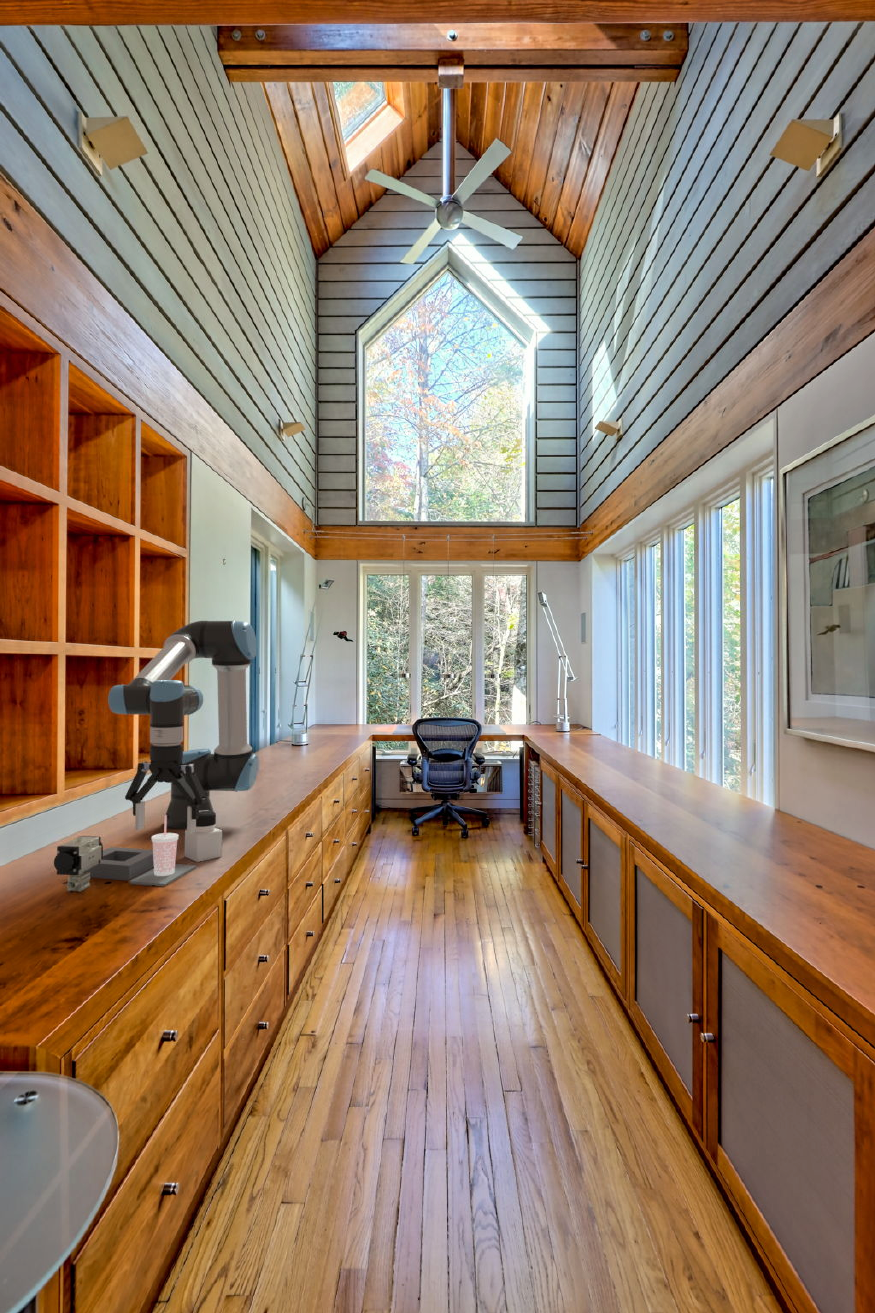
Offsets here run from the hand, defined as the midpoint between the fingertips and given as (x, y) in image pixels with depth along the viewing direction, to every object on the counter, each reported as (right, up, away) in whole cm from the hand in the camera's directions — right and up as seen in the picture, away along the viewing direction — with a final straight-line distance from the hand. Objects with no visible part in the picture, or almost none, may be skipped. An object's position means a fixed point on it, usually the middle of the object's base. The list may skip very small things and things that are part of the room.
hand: (165, 830), depth 162 cm
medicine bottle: (+4, -11, +15) cm, 19 cm away
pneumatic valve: (-15, -11, -11) cm, 21 cm away
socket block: (-13, -11, +3) cm, 17 cm away
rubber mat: (0, -11, 0) cm, 11 cm away
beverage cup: (0, -10, 0) cm, 10 cm away
